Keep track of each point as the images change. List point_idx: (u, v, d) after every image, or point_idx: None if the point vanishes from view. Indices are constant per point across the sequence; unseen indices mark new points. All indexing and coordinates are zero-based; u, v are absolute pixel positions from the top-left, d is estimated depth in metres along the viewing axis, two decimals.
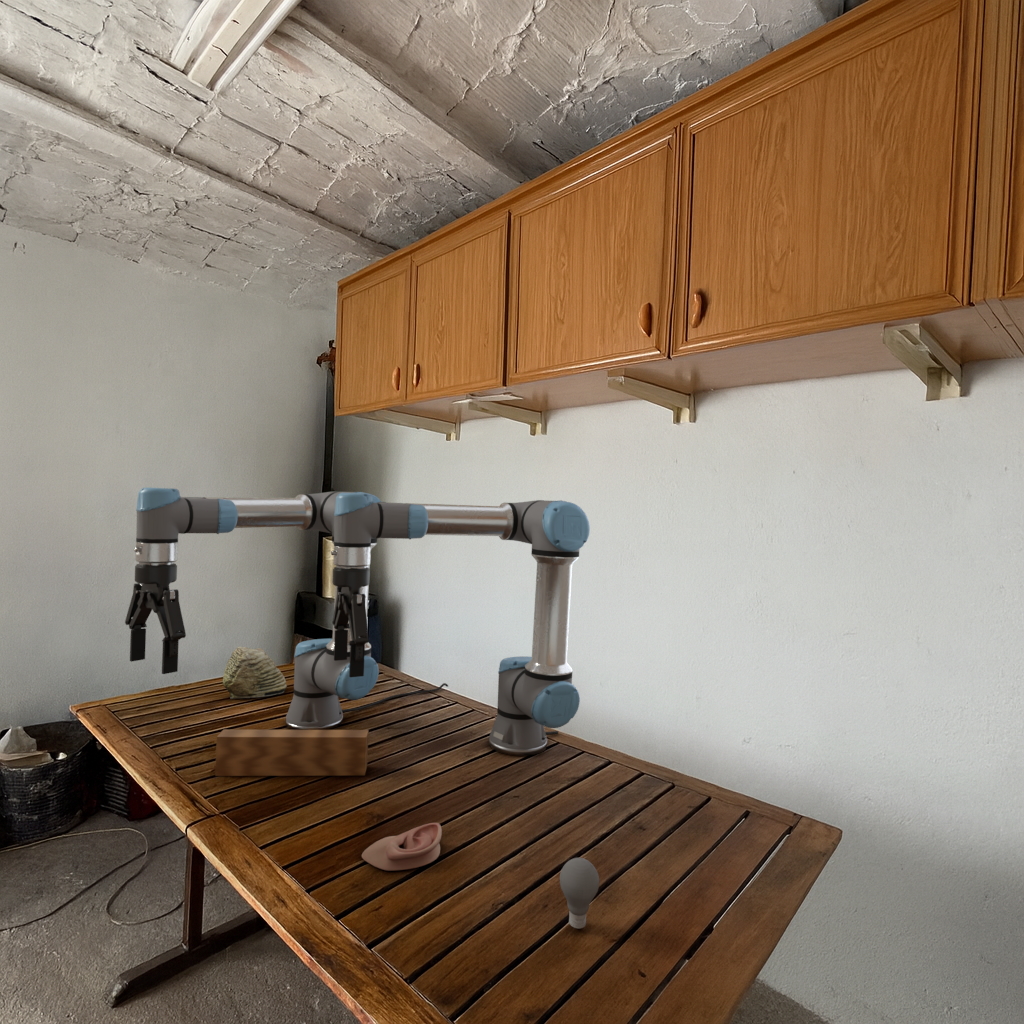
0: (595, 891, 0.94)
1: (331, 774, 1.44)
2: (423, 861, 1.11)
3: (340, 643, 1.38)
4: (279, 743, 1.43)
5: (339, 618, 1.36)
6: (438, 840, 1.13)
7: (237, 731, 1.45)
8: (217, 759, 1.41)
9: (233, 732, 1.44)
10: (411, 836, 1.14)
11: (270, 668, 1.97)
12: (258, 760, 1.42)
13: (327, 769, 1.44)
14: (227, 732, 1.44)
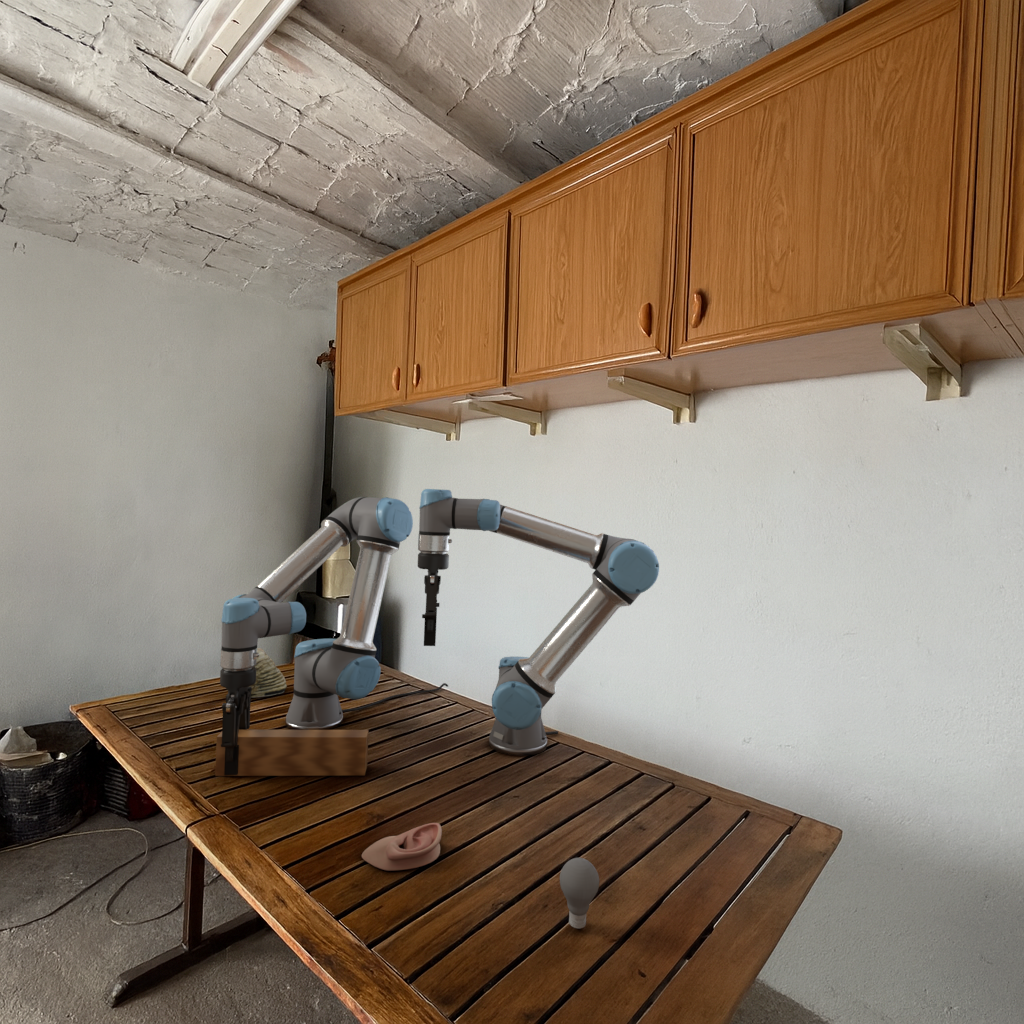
0: (595, 891, 0.94)
1: (332, 774, 1.44)
2: (423, 861, 1.11)
3: None
4: (279, 742, 1.43)
5: None
6: (438, 840, 1.13)
7: None
8: (217, 759, 1.41)
9: None
10: (411, 836, 1.14)
11: (270, 668, 1.97)
12: (258, 759, 1.42)
13: (327, 769, 1.44)
14: None
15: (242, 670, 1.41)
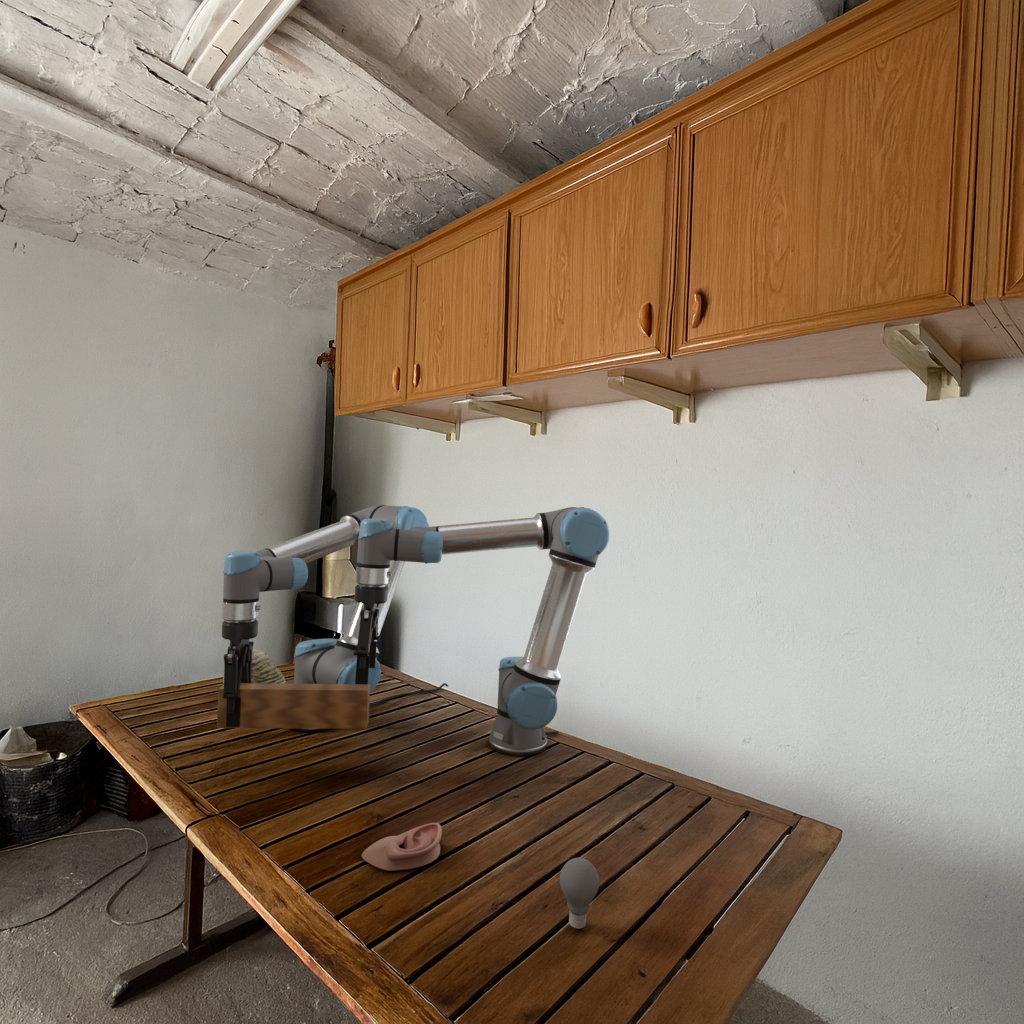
0: (595, 891, 0.94)
1: (333, 727, 1.44)
2: (423, 861, 1.11)
3: None
4: (281, 695, 1.42)
5: None
6: (438, 840, 1.13)
7: None
8: (219, 711, 1.41)
9: None
10: (411, 836, 1.14)
11: (270, 668, 1.97)
12: (260, 712, 1.42)
13: (328, 722, 1.44)
14: None
15: (244, 622, 1.41)
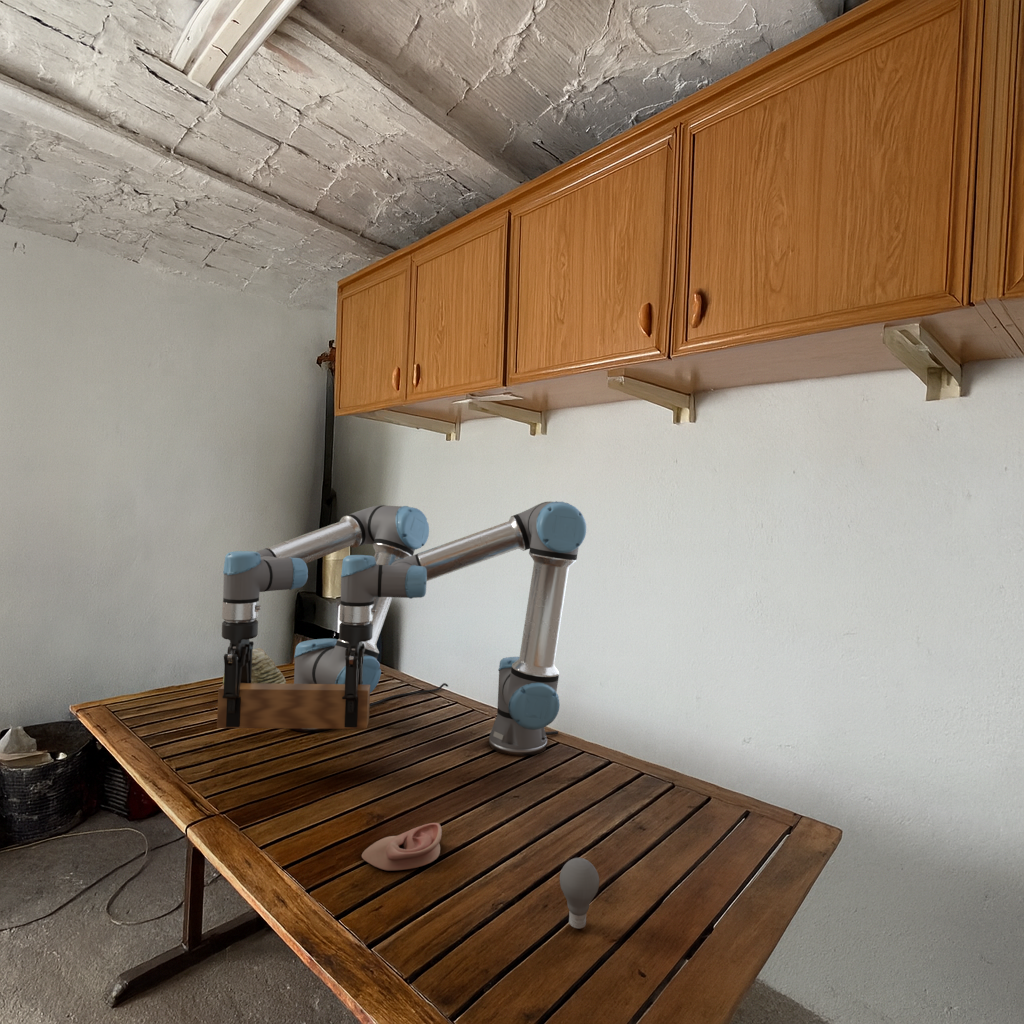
0: (595, 891, 0.94)
1: (333, 727, 1.44)
2: (423, 861, 1.11)
3: None
4: (281, 695, 1.42)
5: None
6: (438, 840, 1.13)
7: None
8: (219, 711, 1.41)
9: None
10: (411, 836, 1.14)
11: (270, 668, 1.97)
12: (260, 712, 1.42)
13: (328, 722, 1.44)
14: None
15: (244, 622, 1.41)
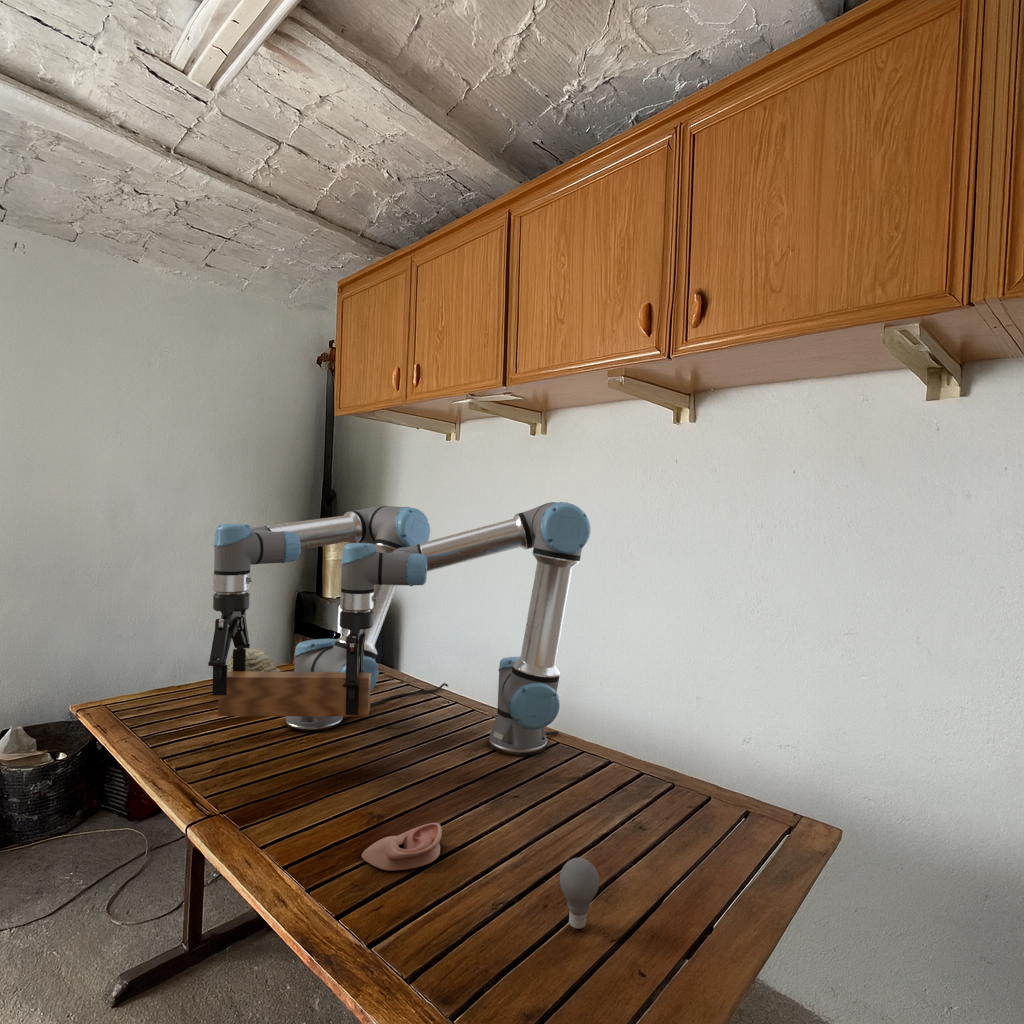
0: (595, 891, 0.94)
1: (334, 715, 1.44)
2: (423, 861, 1.11)
3: None
4: (282, 683, 1.42)
5: None
6: (438, 840, 1.13)
7: (240, 672, 1.45)
8: (220, 699, 1.41)
9: (235, 673, 1.44)
10: (411, 836, 1.14)
11: (270, 668, 1.97)
12: (261, 700, 1.42)
13: (329, 710, 1.44)
14: (229, 673, 1.44)
15: (235, 594, 1.40)
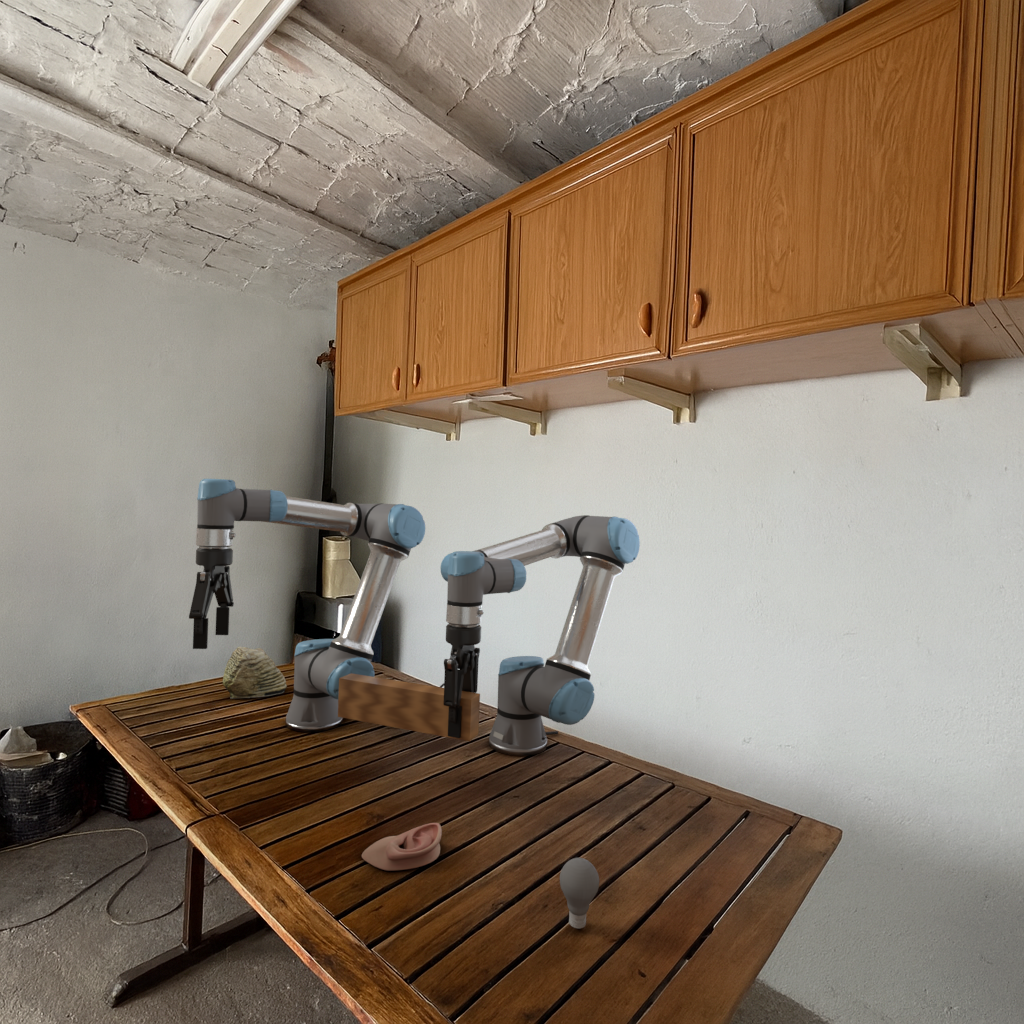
0: (595, 891, 0.94)
1: (438, 734, 1.35)
2: (423, 861, 1.11)
3: None
4: (391, 692, 1.39)
5: None
6: (438, 840, 1.13)
7: (360, 676, 1.45)
8: (339, 700, 1.43)
9: (356, 676, 1.45)
10: (411, 836, 1.14)
11: (270, 668, 1.97)
12: (373, 707, 1.40)
13: (433, 728, 1.35)
14: (351, 676, 1.45)
15: (218, 548, 1.40)
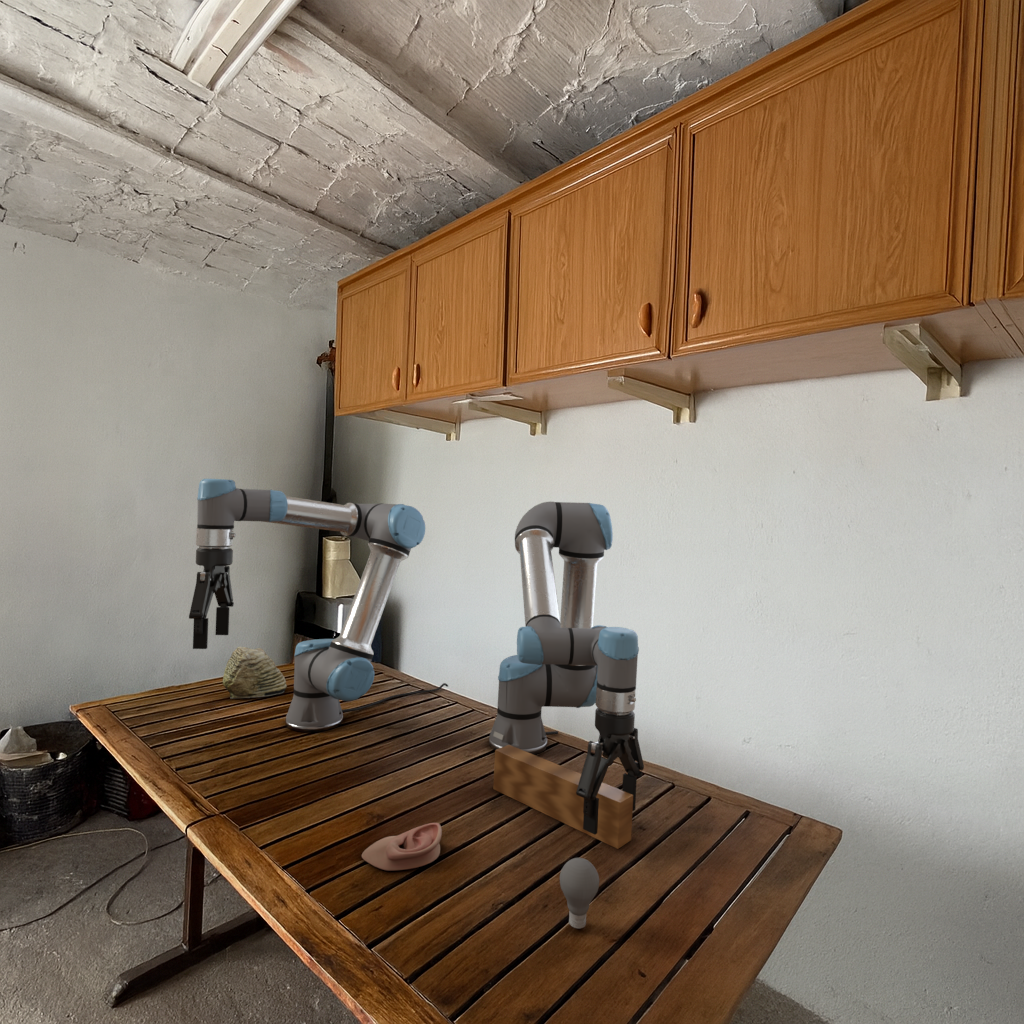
0: (595, 891, 0.94)
1: (586, 832, 1.23)
2: (423, 861, 1.11)
3: None
4: (541, 776, 1.31)
5: None
6: (438, 840, 1.13)
7: (516, 750, 1.41)
8: (495, 773, 1.40)
9: (512, 750, 1.41)
10: (411, 836, 1.14)
11: (270, 668, 1.97)
12: (524, 787, 1.34)
13: (581, 824, 1.24)
14: (507, 748, 1.42)
15: (218, 548, 1.40)
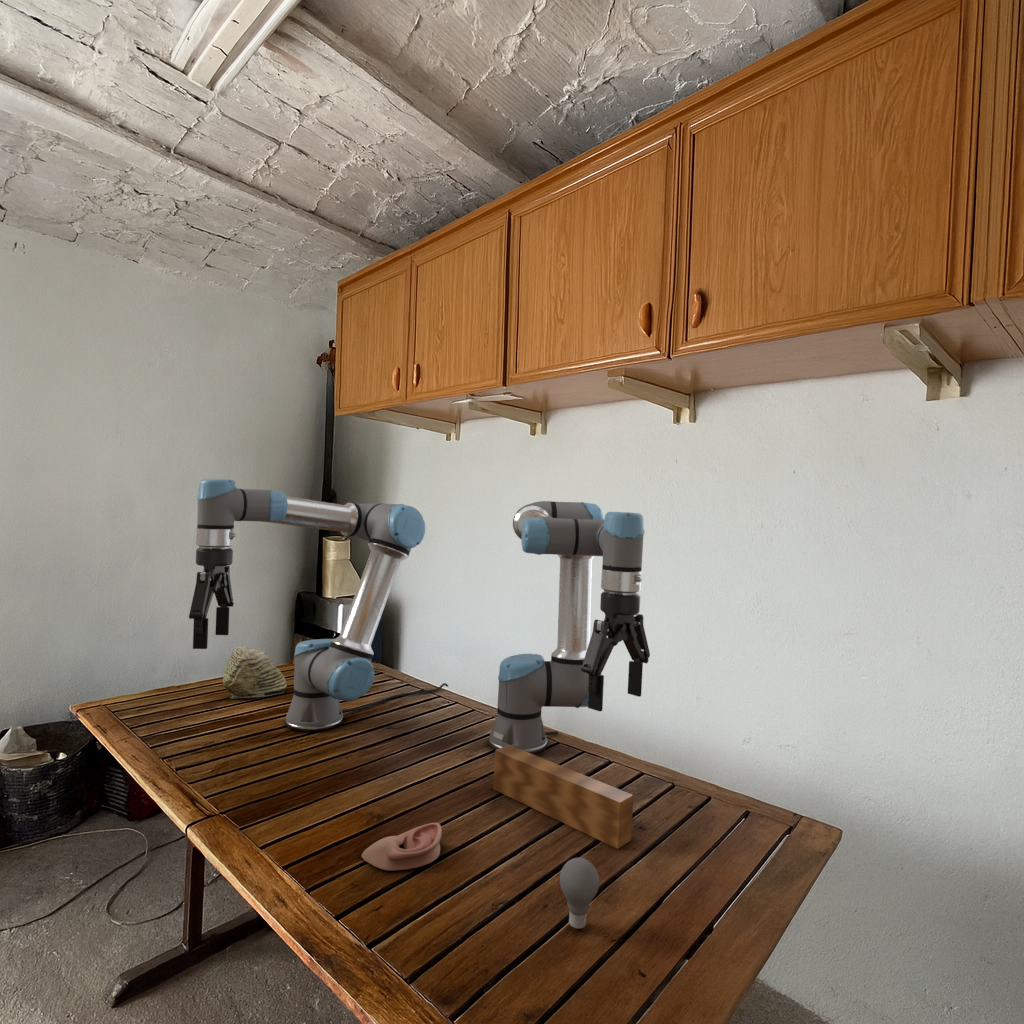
0: (595, 891, 0.94)
1: (586, 832, 1.23)
2: (423, 861, 1.11)
3: None
4: (541, 776, 1.31)
5: None
6: (438, 840, 1.13)
7: (516, 750, 1.41)
8: (495, 773, 1.40)
9: (512, 750, 1.41)
10: (411, 836, 1.14)
11: (270, 668, 1.97)
12: (524, 787, 1.34)
13: (581, 824, 1.24)
14: (507, 748, 1.42)
15: (218, 548, 1.40)
